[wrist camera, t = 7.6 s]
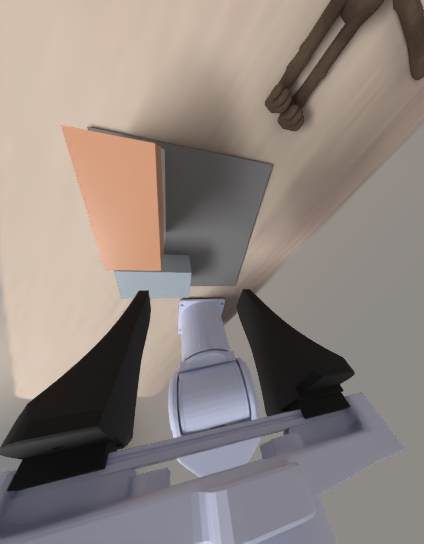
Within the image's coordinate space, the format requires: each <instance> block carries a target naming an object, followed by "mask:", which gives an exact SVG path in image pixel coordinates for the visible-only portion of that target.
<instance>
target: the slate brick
mask: <svg viewBox="0 0 424 544" xmlns="http://www.w3.org/2000/svg"><path fill="white" fill-rule="evenodd" d="M114 272H115V276H116V280H117V284H118V288H119V292H120V296H121V299H133V298H134V297H135V296H136V294H137V292H138V291H139V290H149V297H150V298H189V292H190V282H191V266H190V258H189V255H168V254H163V260H162V268H161V271H135V270H115V271H114Z"/></svg>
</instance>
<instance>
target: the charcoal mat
mask: <svg viewBox="0 0 424 544" xmlns="http://www.w3.org/2000/svg"><path fill="white" fill-rule="evenodd" d="M87 128H88V130H89V131H94V132H99V133H105V134H110V135H115V136H120V137H125V138H130V139H136V140H141V141H146V142H151V143H155V144H157V145H159V146H161V148H162V149H164V150H165V196H166V236H165V244H164V253H163V254H168V255H189V258H190V266H191V282H190V286H235V284H236V280H237V277H238V274H239V271H240V268H241V264H242V261H243V258H244V255H245V252H246V248H247V245H248V242H249V239H250V236H251V232H252V229H253V226H254V223H255V220H256V217H257V213H258V210H259V207H260V204H261V201H262V197H263V194H264V191H265V188H266V185H267V181H268V178H269V175H270V172H271V169H272V165H271V164H266V163H261V162H256V161H251V160H246V159H241V158H237V157H232V156H227V155H222V154H217V153H212V152H207V151H203V150H198V149H193V148H188V147H183V146H178V145H173V144H169V143H164V142H159V141H154V140H149V139H144V138H139V137H135V136H130V135H125V134H120V133H115V132H110V131H106V130H101V129H96V128H91V127H87Z"/></svg>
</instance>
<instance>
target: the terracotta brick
mask: <svg viewBox="0 0 424 544" xmlns="http://www.w3.org/2000/svg"><path fill="white" fill-rule="evenodd" d="M61 127H62V130H63V134H64V137H65V140H66V144H67V147H68V150H69V154H70V157H71V160H72V164H73V167H74V170H75V174H76V177H77V180H78V184H79V187H80V190H81V193H82V197H83V200H84V203H85V207H86V210H87V213H88V217H89V220H90V223H91V227H92V230H93V233H94V237H95V240H96V243H97V247H98V250H99V253H100V257H101V260H102V263H103V267H104V270H135V271H161V268H162V260H163V253H164V224H163V191H162V159H161V146H159V145H157V144H155V143H151V142H146V141H141V140H136V139H130V138H125V137H120V136H115V135H110V134H105V133H99V132H94V131H89V130H84V129H79V128H74V127H69V126H63V125H61Z"/></svg>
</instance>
